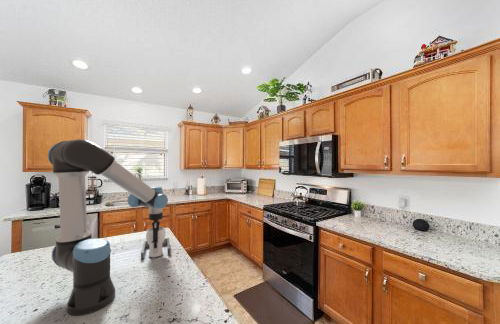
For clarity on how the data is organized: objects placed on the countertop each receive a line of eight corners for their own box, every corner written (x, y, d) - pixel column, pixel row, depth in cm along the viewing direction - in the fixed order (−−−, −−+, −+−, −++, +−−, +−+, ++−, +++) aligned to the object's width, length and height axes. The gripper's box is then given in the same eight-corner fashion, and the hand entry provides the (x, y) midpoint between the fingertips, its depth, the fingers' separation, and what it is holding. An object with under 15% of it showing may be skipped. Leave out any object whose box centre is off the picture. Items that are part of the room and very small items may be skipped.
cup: (168, 251, 128) (168, 226, 128) (159, 258, 117) (159, 232, 117) (152, 250, 129) (152, 226, 129) (142, 258, 118) (142, 231, 118)
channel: (169, 255, 123) (169, 248, 123) (140, 259, 117) (140, 252, 117) (169, 243, 141) (169, 237, 141) (144, 247, 135) (144, 241, 135)
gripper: (162, 216, 114) (162, 256, 114) (162, 208, 135) (162, 241, 135) (147, 217, 111) (147, 258, 111) (150, 209, 132) (150, 243, 132)
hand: (155, 249), depth 123 cm, fingers closed on cup, 11 cm apart
